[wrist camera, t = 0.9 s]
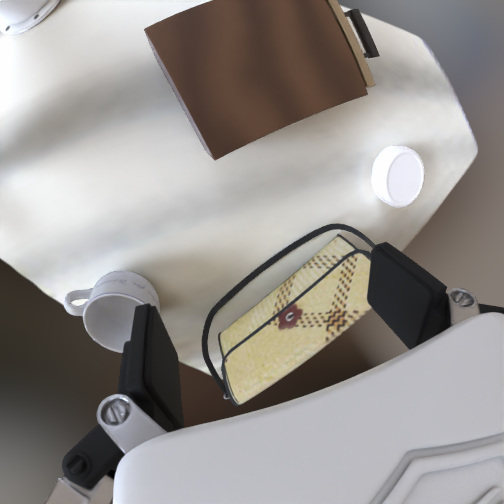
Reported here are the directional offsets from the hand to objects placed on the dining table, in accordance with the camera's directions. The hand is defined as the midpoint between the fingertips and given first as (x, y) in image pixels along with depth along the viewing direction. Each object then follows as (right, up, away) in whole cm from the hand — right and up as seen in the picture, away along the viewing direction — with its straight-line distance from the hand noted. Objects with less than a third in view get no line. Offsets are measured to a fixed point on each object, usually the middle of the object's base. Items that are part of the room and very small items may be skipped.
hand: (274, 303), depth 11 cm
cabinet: (-2, +24, +18) cm, 31 cm away
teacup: (-21, -3, +27) cm, 35 cm away
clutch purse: (+2, -3, +33) cm, 33 cm away
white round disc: (+22, +15, +30) cm, 40 cm away
